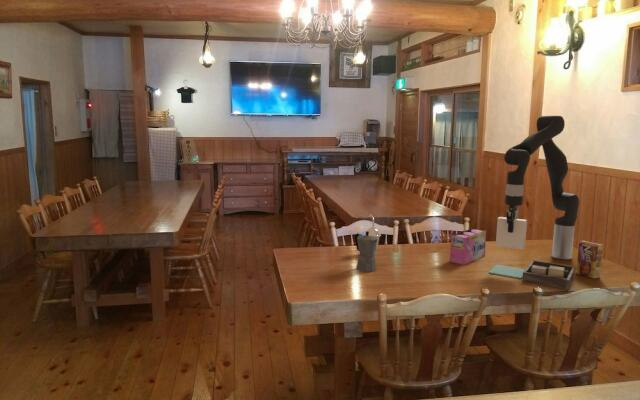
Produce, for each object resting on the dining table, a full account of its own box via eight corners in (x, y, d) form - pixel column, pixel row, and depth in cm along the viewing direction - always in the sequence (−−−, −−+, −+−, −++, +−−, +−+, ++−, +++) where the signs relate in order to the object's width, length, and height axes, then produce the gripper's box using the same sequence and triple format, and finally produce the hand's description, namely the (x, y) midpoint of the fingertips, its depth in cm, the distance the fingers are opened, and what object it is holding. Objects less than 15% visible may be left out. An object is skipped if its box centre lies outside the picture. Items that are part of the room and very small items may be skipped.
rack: (530, 270, 227) (531, 259, 227) (573, 277, 218) (574, 266, 217) (522, 281, 212) (523, 270, 211) (568, 289, 202) (569, 277, 201)
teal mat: (496, 265, 233) (496, 264, 233) (527, 271, 226) (527, 269, 226) (488, 273, 222) (488, 272, 222) (521, 279, 214) (521, 277, 214)
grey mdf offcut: (532, 278, 216) (533, 265, 215) (545, 280, 213) (547, 267, 212) (530, 280, 213) (531, 267, 212) (544, 283, 210) (545, 269, 209)
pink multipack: (472, 252, 257) (473, 227, 255) (486, 255, 251) (488, 230, 249) (449, 261, 240) (450, 234, 238) (463, 265, 234) (465, 237, 232)
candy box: (600, 277, 218) (603, 244, 215) (594, 279, 215) (597, 245, 213) (581, 272, 225) (584, 240, 223) (575, 273, 223) (578, 241, 221)
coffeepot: (383, 271, 224) (384, 233, 221) (367, 274, 219) (368, 235, 216) (362, 262, 236) (363, 226, 233) (346, 265, 231) (347, 228, 228)
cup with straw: (362, 255, 250) (363, 216, 247) (365, 250, 258) (366, 213, 255) (378, 256, 247) (379, 218, 244) (381, 251, 256) (383, 214, 253)
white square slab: (497, 244, 227) (499, 216, 225) (524, 248, 220) (527, 219, 218) (495, 245, 224) (497, 218, 222) (523, 249, 217) (525, 221, 215)
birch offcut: (548, 281, 212) (550, 265, 211) (563, 283, 209) (564, 267, 208) (547, 283, 209) (548, 267, 208) (561, 286, 206) (563, 270, 205)
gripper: (509, 191, 226) (506, 227, 229) (501, 195, 214) (498, 233, 217) (526, 193, 222) (523, 229, 225) (519, 196, 210) (516, 235, 213)
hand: (511, 231), depth 221 cm, fingers closed on white square slab, 3 cm apart
